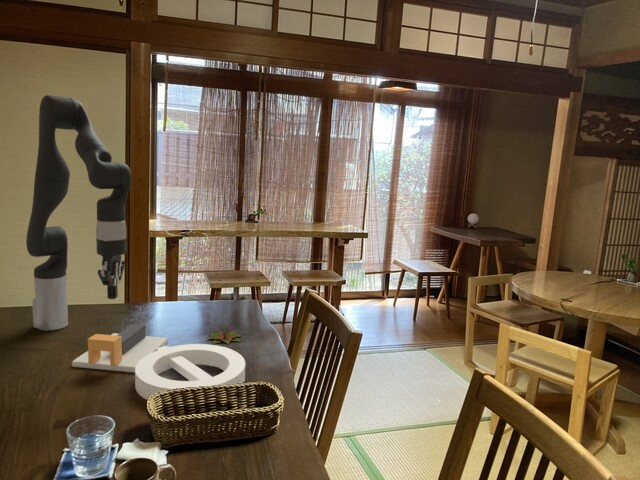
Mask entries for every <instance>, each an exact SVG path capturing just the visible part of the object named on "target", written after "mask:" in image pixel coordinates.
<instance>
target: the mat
mask: <svg viewBox="0 0 640 480" xmlns="http://www.w3.org/2000/svg"><path fill="white" fill-rule="evenodd" d="M118 334H119V333H116V332H113V333H112V334H111V335H115V336H117V335H118ZM167 344H169V338H168V337H160V336H149V335H145V338H144V339H143V340H141V341H140V342H139V343H138V344H136V345H135V346H134V347H133V348H131V349H130V350H129V351H128V352H126V353H125V354H124V355H122V361H120V362H119V363H118V364H117V365H115V366H110V352H108V351H101V358H100V359H99V360H98V361H96V362H95V363H94V364H89V363H88V350H87V351H86V352H84V353H82V354H81V355H80V356H77V358H75V359H73V360H72V361H71V365H72V367H73V368H74V367H75V368H84V369H95V370H106V371H116V372H126V373H135V367H136V365H137V363H138V362H139V361H140V360H141V359H142V358H143V357H145V356H147V355H148V354H150V353H153V352H155V351H156V348H159V347H163V346H167Z"/></svg>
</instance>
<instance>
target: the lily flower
mask: <svg viewBox="0 0 640 480" xmlns="http://www.w3.org/2000/svg"><path fill="white" fill-rule="evenodd" d="M230 327H231V326H230V325H229V324H227V325H226V327H225V328H223V327H222V326H221V325H219V326H218V328H219V329H220V330H219V331H217V332H214V333H209V335H210V337H208V340H212V341H213V344H212V345H216V344H217V343H225V344H227V345H229V344H230V342H241V340H240V338H239V337H241V334H237V333H236V331H232V328H231V329H230ZM229 329H230V330H229ZM228 330H229V331H228ZM232 339H233V340H232Z"/></svg>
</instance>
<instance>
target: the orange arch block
mask: <svg viewBox="0 0 640 480" xmlns="http://www.w3.org/2000/svg"><path fill="white" fill-rule="evenodd" d="M87 351H88V363H89V364H94V363H95V362H96V361H98V360H99V359H100V358H101V351H108V352H110V366H115V365H117V364H118V363H119V362H120V361H122V336H115V335H112V334H100V333H95V334H94V335H92V336H90V337H89V338H87Z"/></svg>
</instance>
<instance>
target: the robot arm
mask: <svg viewBox="0 0 640 480" xmlns="http://www.w3.org/2000/svg"><path fill="white" fill-rule="evenodd" d="M40 100H41V101H40V104H39V109H38V111H39V113H38V114H39V115H38V149H37V158H36V166H35V174H34V182H33V183H34V184H33V197H32V206H31V214H30V219H29V224H28V227H27V231H26V242H25V243H26V250H27V252H28V254H29V256H31V257H33V258H35V257H36V258H38V257H39V258H41V257H48V256H49V257H48V259H47V260H45V261H44V262H43V263H41V264H39V265H37V266H36V267H34V269H33V276H34V277H33V279H34V280H33V281H34V298H33V299H31V302H32V322H33V323H32V325H33V328H35V329H37V330H40V331H57V330H60V329H63V328H66V327H67V326H68V324H69V314H68V313H69V312H68V287H67V269H68V249H69V246H68V236H67V232H66V230H65V229H64V228H63V227H62V226H58V225H57V226H47V224H48V221H49V219H50V217H51V215H52V214H53V212H54V211H55V210H56V209H57V208H58V207H59V205H60V204H61V203H62V202H63V201H64V199H65V197H66V196H67V194H68V191H69V184H70V175H71V171H70V169H69V166H68V164H67V162H66V160H65V159H64V157H63V155H62V154H61V152H60V150H59V148H58V145H57V142H56V130H67V131H68V130H70V131H71V130H74V131H75V132H77V135H76V138H75V140H74V147H75V150H76V152H77V154H78V156H79V157H80V159H81V160H82V162H83V163H84V164H85V168H86V172H87V175H88V180H89V183H90V185H92V186H93V187H94V188H96V189H98V190H112V192H111V194H110V195H108V196H105V197H101V198H99V199H98V200H97V202H96V228H95V233H96V239H95V240H96V241H95V243H96V254H97V255H98V256H101V257H102V260H101V269H98V270H97V275H98V276H99V280H101V281H100V282H101V283H102V286H107V289H106V290H107V299H108V300H115V299H117V298H118V288H119V287H118V285H119V282H121V280H122V276H123V273H124V270H125V265H126V261H125V260H122V256H124V255H125V254H126V253H127V252H128V250H127V224H126V204H127V199H128V195H129V192H130V188H131V185H132V181H133V180H132V179H133V174H132V171H131V168H130V167H129V165H127V164H126V163H125V162H118V161H117V162H115V161H114V162H113V159H112V154H111V153H110V151H109V149H107V147H106V145H105V144H104V143H103V142H102V141H101V139H100V138H99V136H98V135H97V133H96V130H95V128H94V126H93V123H92V121H91V119H90V117H89V115H88V112H87V110H86V108H85V107H84V104H82V103H81V101H79V99H76V98H71V97H65V96H58V95H51V94H46V95H44V96H43V97H42V98H41V99H40Z"/></svg>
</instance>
